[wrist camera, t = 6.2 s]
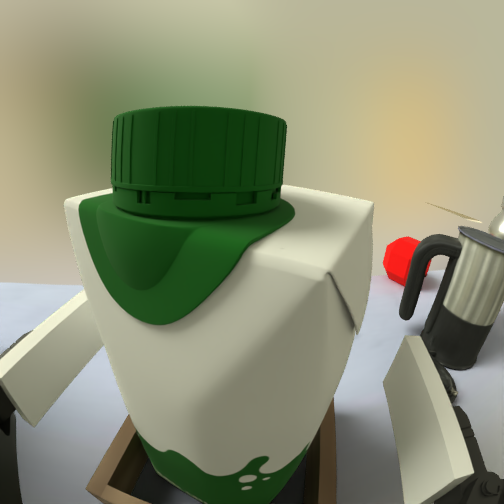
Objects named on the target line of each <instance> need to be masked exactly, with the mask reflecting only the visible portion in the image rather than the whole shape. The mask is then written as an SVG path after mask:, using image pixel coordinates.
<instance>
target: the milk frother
mask: <svg viewBox="0 0 504 504" xmlns="http://www.w3.org/2000/svg"><path fill="white" fill-rule="evenodd" d="M458 229H459V231H460V233H459V237H458V238H454V237H450V236H446V235H442V234H436V235H431V236H429V237H427V238H425V239H423V240H422V241H421V242H420V243H419V244H418V245H417V247H416V249H415V251H414V253H413V256H412V260H411V264H410V268H409V272H408V276H407V280H406V284H405V288H404V292H403V296H402V300H401V303H400V308H399V315H400V317H401V318H402V319H404V320H409V319H410V318H411V317H412V316H413V313H414V310H415V307H416V304H417V301H418V298H419V294H420V291H421V287H422V284H423V280H424V277H425V273H426V269H427V266H428V263H429V261H430V260H431V259H432V258H433V257H434V256H436V255H445V256H448V257H450V258H449V261H448V264H447V267H446V270H445V273H444V276H443V279H442V282H441V285H440V287H439V290H438V293H437V295H436V298H435V301H434V303H433V305H432V308H431V311H430V313H429V315H428V318H427V320H426V322H425V327H424V330H423V331H422V332H421V335H420V337H421V339H422V341H423V343H424V345H425V347H426V349H427V351H428V353H429V355H430V357H431V359H432V361H433V363H434V365H435V368H436V370H437V372H438V374H439V376H440V379H441V381H442V383H443V386H444V388H445V390H446V393H447V395H448V397H449V400H450V402H451V404H452V403H453V402H454V400H455V398H456V396H457V394H458V392H457V391H456V386H455V382H454V380H453V378H452V376H451V375H450V374H449V373H448V371H447V370H446V368H444V366H446V367H448V368H451V369H457V370H462V369H467V368H470V367H471V366H473V365H474V363H475V362H476V359H477V355H478V353H479V351H480V349H481V347H482V345H483V343H484V341H485V339H486V337H487V335H488V333H489V331H490V329H491V327H492V325H493V323H494V321H495V319H496V317H497V315H498V313H499V311H500V308H501V306H502V304H503V301H504V240H502V239H500V238H498V237H495V236H493V235H491V234H488V233H486V232H483V231H480V230H477V229H474V228H470V227H465V226H458Z"/></svg>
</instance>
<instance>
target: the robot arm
mask: <svg viewBox="0 0 504 504" xmlns="http://www.w3.org/2000/svg"><path fill="white" fill-rule="evenodd" d="M103 345H104V343H103V341H102V338H101V335H100V333H99V330H98V327H97V325H96V322H95V319H94V316H93V314H92V311H91V308H90V305H89V302H88V299H87V296H86V293H85V290H82V291H81V292H80V293H78V294H77V295H76V296H75V297H73V298H72V299H71V300H69V301H68V302H67V303H66V304H64V305H63V306H62V307H61V308H59V309H58V310H57V311H56V312H54V313H53V314H52V315H51V316H50V317H48V318H47V319H46V320H45V321H44V322H42V323H41V324H40V325H39V326H38V327H36V328H35V329H34V330H32V331H30V332H28V333H26V334H24V335H22V336H21V337H20V338H19V339H18V340H17V341H16V343H13V344H12V345H11V346H10V348H8V349H7V350H5V351H4V352H3V353H2V354H1V355H0V504H23V503H22V498H21V491H20V484H19V476H18V466H17V452H16V416H15V414H14V411H15V410H17V411H18V413H19V414H20V415H21V417H22V418H23V419H24V420H25V421H27V422H28V423H29V424H30V425H32V426H33V427H35V426H36V425H37V423H38V422H39V421H40V420H41V418H42V417H43V416H44V415H45V413H46V412H47V411H48V410H49V408H50V407H51V406H52V405H53V404H54V402H55V401H56V400H57V399H58V397H59V396H60V395H61V394H62V393H63V391H64V390H65V389H66V388H67V387H68V385H69V384H70V383H71V382H72V381H73V380H74V378H75V377H76V376H77V375H78V374H79V373H80V371H81V370H82V369H83V368H84V367H85V366H86V364H87V363H88V362H89V361H90V360H91V359H92V358H93V356H94V355H95V354H96V353H97V352H98V351H99V350H100V349H101V347H102V346H103ZM383 386H384V390H385V394H386V398H387V402H388V407H389V411H390V416H391V421H392V426H393V431H394V436H395V441H396V447H397V453H398V459H399V465H400V472H401V479H402V487H403V495H404V504H431V503H433V502H434V504H504V479H500V478H499V476H498V475H497V474H495V473H494V472H487V470H486V468H485V465H484V461H483V458H482V455H481V452H480V449H479V446H478V443H477V440H476V437H474V432H473V429H472V428H471V424H470V421H469V419H468V416H467V415H466V413H465V412H464V411H463V410H462V409H461V407H460V406H453V407H452V405H451V402H450V400H449V397H448V395H447V393H446V390H445V388H444V386H443V383H442V381H441V379H440V376H439V374H438V372H437V370H436V368H435V365H434V363H433V361H432V359H431V357H430V355H429V353H428V351H427V349H426V347H425V345H424V343H423V341H422V339H421V337H420V336H408V335H405V337H404V339H403V341H402V343H401V346H400V348H399V350H398V352H397V354H396V356H395V359H394V361H393V363H392V365H391V367H390V369H389V371H388V373H387V375H386V377H385V379H384V381H383Z"/></svg>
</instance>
